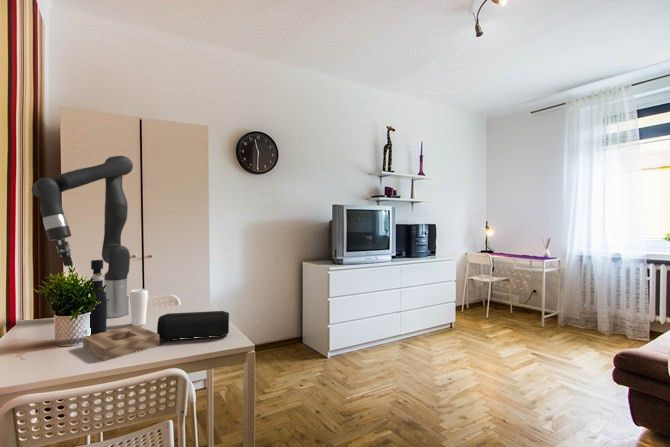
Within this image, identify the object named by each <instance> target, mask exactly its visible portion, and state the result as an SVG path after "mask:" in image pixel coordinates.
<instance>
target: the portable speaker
mask: <svg viewBox="0 0 670 447" xmlns="http://www.w3.org/2000/svg"><path fill="white" fill-rule="evenodd" d="M156 325H157V328H156V331H157V332H156V333H157V334H159V340H163V341H166V340H167V341H174V340H173V339H180V338H194V337H209V336H222V335H224V336H226V335H225V334H227V335H228V333H229V331H230V312H228V311H224V310H214V311H213V310H211V311H193V312H192V311H191V312H189V311H188V312H173V313H171V312H170V313H169V312H168V313H166V314H163V315H160V316H159V317H158V319H157V324H156ZM222 337H223V336H222Z"/></svg>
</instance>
